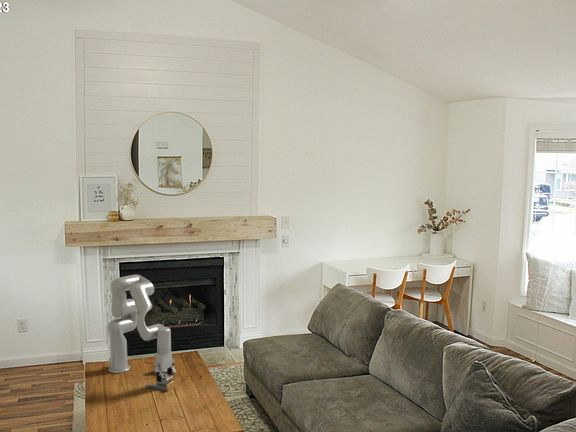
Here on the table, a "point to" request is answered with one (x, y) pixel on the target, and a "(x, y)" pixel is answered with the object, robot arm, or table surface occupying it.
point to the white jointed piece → (172, 370)
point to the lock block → (165, 380)
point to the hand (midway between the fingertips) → (164, 378)
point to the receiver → (168, 386)
